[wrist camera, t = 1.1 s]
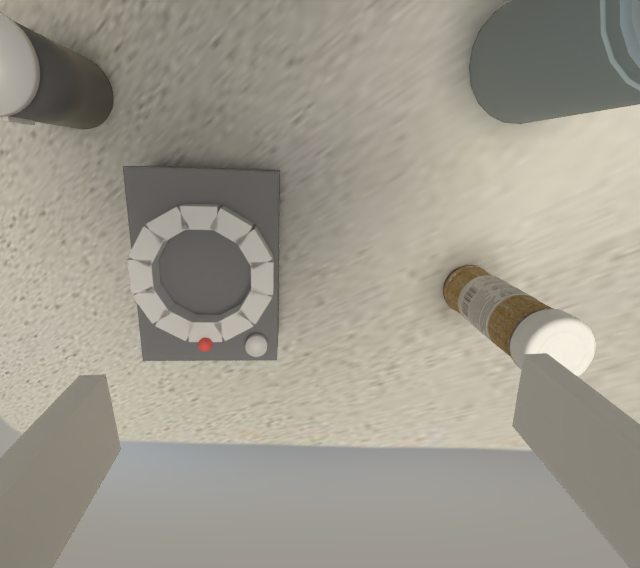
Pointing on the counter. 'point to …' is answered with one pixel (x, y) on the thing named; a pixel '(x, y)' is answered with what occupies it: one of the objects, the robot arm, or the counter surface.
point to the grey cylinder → (49, 81)
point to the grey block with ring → (204, 261)
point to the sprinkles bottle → (519, 320)
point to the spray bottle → (557, 59)
